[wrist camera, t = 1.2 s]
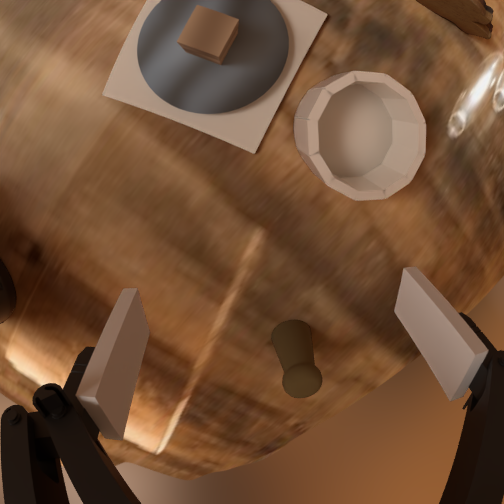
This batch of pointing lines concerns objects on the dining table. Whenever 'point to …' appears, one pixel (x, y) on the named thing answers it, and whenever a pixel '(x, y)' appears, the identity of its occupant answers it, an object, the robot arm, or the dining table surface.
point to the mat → (229, 123)
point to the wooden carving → (464, 14)
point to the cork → (297, 358)
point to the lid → (212, 52)
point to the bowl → (361, 134)
